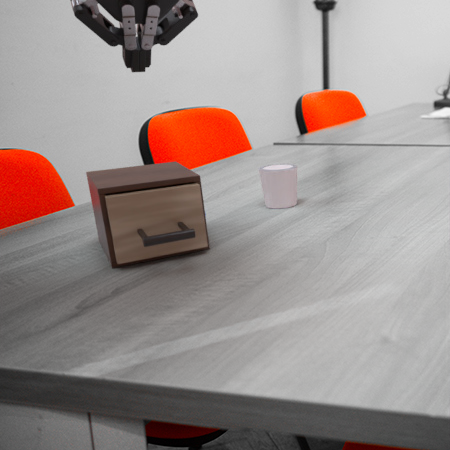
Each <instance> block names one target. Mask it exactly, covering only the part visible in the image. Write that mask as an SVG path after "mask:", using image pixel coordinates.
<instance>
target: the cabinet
mask: <svg viewBox="0 0 450 450" xmlns="http://www.w3.org/2000/svg"><path fill="white" fill-rule="evenodd" d="M85 175H86V177H87V178H86V179H87V185H88V190H89V195H90V201H91V206H92V210H93V216H94V222H95V227H96V232H97V237H98V238H97V239H98V241H99V243H100V246H101V248H102V250H103V253H104V254H105V256H106V258H107V261H108V263H109V265H110V267H111V268H112V269H116V268H121V267H126V266H131V265H136V264H141V263H146V262H151V261H156V260H161V259H166V258H171V257H176V256H181V255H187V254H191V253H196V252H201V251H207V250H210V247H211V246H210V239H209V232H208V224H207V218H206V210H205V203H204V195H203V186H202V181H201V175H200V174H198V173H197V172H195V171H193V170H191V169H190V168H188V167H186V166H184V165H182V164H181V163H179V162H177V161H168V162H160V163H151V164H143V165H135V166H133V165H132V166H125V167H116V168H108V169H99V170H91V171H86V172H85ZM183 183H189V184H195V183H198V184H199V185H200V191H201V198H202V206H203V213H204V221H205V228H206V236H207V243H208V247H204V248H199V249H194V250H189V251H184V252H178V253H173V254H168V255H163V256H158V257H153V258H148V259H143V260H138V261H133V262H127V263H122V264H118V263H117V261H116V256H115V250H114V245H113V240H112V234H111V229H110V223H109V218H108V212H107V207H106V201H105V196H106V195H105V194H110V193H117V192H124V191H132V190H139V189H146V188H154V187H161V186H168V185H176V184H183Z"/></svg>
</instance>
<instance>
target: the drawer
mask: <svg viewBox="0 0 450 450" xmlns="http://www.w3.org/2000/svg"><path fill="white" fill-rule="evenodd" d="M105 195H106V196H105V201H106V207H107V212H108V218H109V223H110V229H111V234H112V240H113V245H114V250H115V256H116V261H117V263H118V264H122V263H127V262H133V261H138V260H143V259H148V258H153V257H158V256H163V255H168V254H173V253H178V252H184V251H189V250H194V249H199V248H204V247H208V243H207V236H206V228H205V221H204V213H203V206H202V198H201V191H200V185H199V184H198V183H195V184H189V183H183V184H176V185H168V186H161V187H154V188H146V189H139V190H132V191H124V192H117V193H110V194H105Z"/></svg>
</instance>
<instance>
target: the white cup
mask: <svg viewBox="0 0 450 450" xmlns="http://www.w3.org/2000/svg"><path fill="white" fill-rule="evenodd" d="M258 173H259V178H260V179H259V180H260V183H261V188H262V194H263V199H264V204H265V208H268V209H274V210H275V209H287V208H288V209H289V208H292V207H294V206H297V204H298V166H297V165H296V164H293V163H292V164H291V163H276V164H268V165H263V166H261V167H258Z"/></svg>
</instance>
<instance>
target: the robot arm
mask: <svg viewBox="0 0 450 450" xmlns="http://www.w3.org/2000/svg"><path fill="white" fill-rule="evenodd" d="M70 4H71V8H72V12H73V15H74V16H75V18H76V19H77V20H78V21H79V22H80V23H82V24H83V25H84V26H85V27H87V28H88V29H89V30H90V31H91V32H92V33H94V34H95V35H96V36H97V37H98V38H100V39H101V40H102V41H103V42H104V43H106V45H108V46H110V47H113V48H114V47H118V46H121V51H122V53H121V54H122V55H121V56H122V59H123V62H124V66H125V67H126V69H130V71H131V73H145V72H146V68H150V66H152V49H153V47H154V46H156V45H160V46H167V45H169V44H170V43H171V42H172V41H173V40H174V39H175V38H176V37H178V36H179V35H180V34H181V33H182V32H183V31H184V30H185V29H187V27H189V26H190V25H191V24H192V23H193V22H194V21H195V20H196V19H197V18H198V17H199V13H198V10H197V8H196V5H195V2H194V0H70ZM98 5H99V6H101V8H102V9H104V10H105V11H106V12H107V13H108V14H109V16H111V17H112V18H113V19H114V20H115V21H117V22H118V25H119V27H118V26H115V24H114V23H112V22H111V21H110V20H109V19H108V18H107V17H106V16H105V15H104V14H102V12H101V11H100V8H99V6H98Z"/></svg>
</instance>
